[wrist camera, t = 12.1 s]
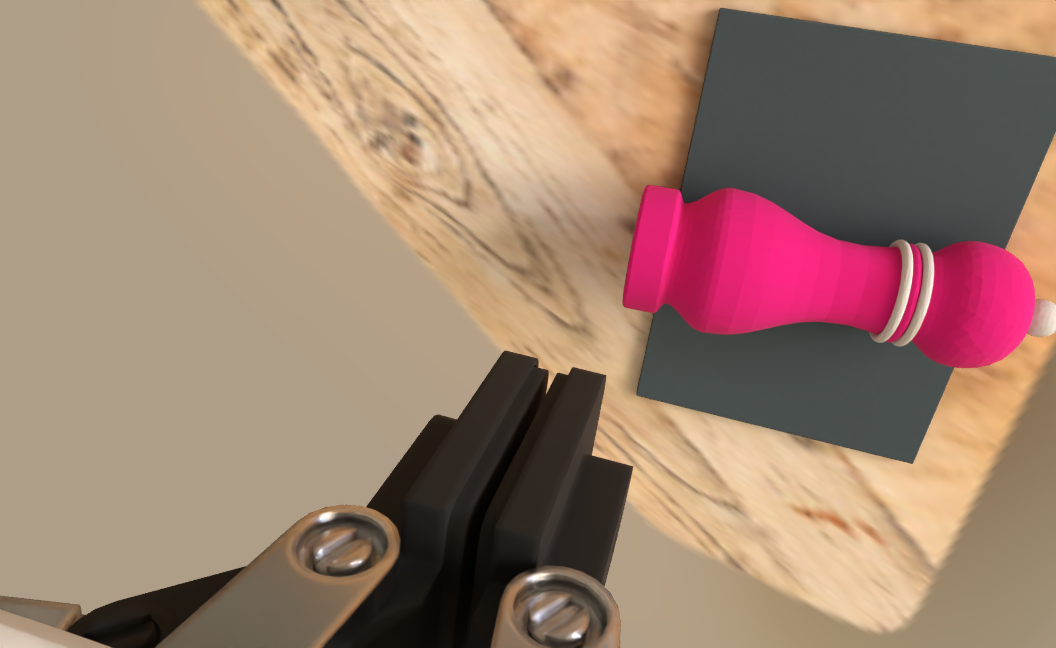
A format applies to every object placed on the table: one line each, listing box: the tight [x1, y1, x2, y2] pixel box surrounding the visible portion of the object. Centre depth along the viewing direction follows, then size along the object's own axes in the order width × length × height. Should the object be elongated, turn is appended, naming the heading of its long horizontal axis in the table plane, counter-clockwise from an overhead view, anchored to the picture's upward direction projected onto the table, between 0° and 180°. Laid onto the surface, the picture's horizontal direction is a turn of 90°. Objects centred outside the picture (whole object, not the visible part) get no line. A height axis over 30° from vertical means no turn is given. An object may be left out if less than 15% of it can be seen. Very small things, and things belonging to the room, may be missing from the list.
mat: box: [636, 8, 1056, 464], centre depth 40 cm, size 22×16×1 cm
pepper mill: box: [623, 185, 1056, 368], centre depth 37 cm, size 7×7×20 cm
